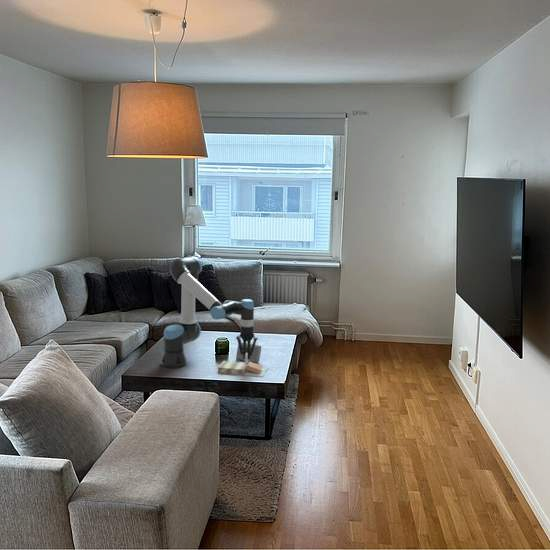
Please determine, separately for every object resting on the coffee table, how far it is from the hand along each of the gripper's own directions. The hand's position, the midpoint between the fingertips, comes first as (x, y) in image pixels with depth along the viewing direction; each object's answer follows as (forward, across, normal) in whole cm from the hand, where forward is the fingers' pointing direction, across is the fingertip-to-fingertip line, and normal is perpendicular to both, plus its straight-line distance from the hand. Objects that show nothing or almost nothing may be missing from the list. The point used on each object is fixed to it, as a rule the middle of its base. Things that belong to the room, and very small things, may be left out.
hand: (246, 364), depth 323 cm
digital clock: (+5, -3, +19) cm, 20 cm away
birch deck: (+4, -8, 0) cm, 9 cm away
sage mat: (+4, +6, 0) cm, 7 cm away
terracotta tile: (+3, +4, 0) cm, 5 cm away
